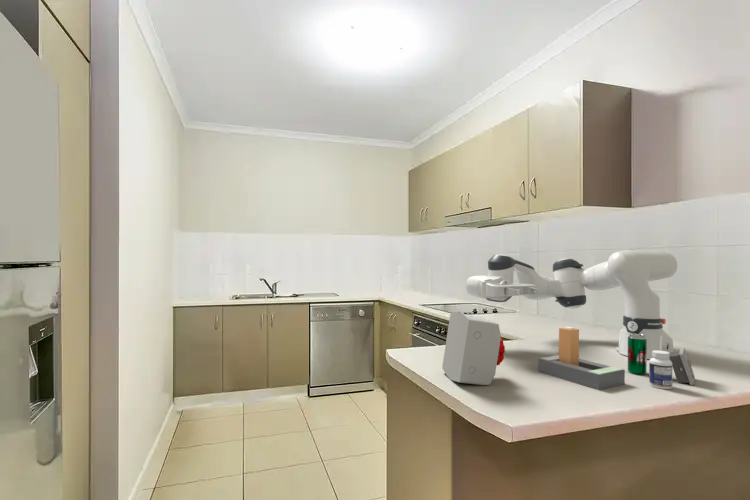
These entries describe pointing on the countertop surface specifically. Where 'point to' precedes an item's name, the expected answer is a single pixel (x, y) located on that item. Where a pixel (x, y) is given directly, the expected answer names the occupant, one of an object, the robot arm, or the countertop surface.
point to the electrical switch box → (472, 349)
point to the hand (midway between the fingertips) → (528, 291)
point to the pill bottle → (660, 370)
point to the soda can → (637, 354)
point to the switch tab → (569, 345)
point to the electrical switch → (682, 367)
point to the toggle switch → (583, 372)
